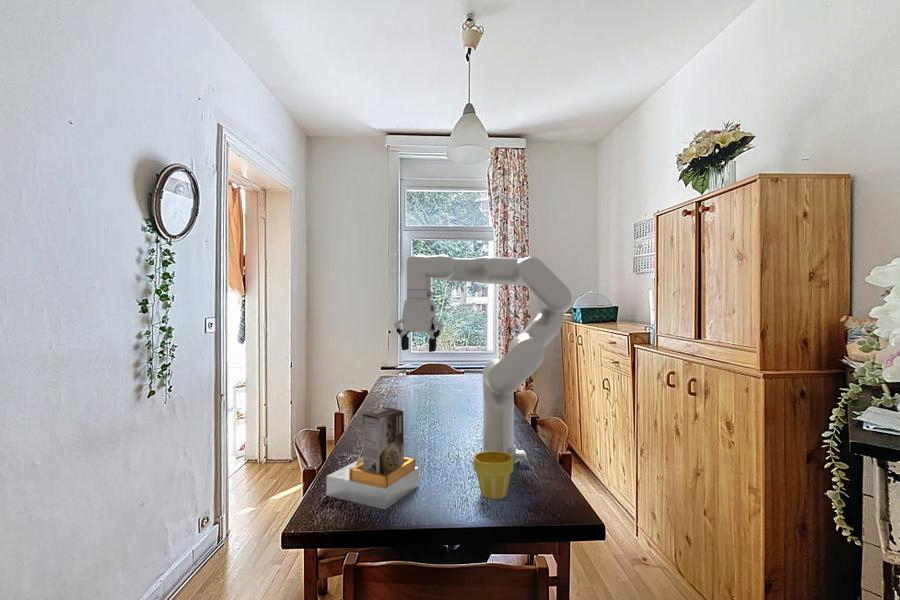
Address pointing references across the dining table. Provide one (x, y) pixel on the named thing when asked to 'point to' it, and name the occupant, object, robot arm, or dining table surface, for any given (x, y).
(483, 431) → the robot arm
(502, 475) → the plant pot
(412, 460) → the white and orange tray
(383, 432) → the coffee box
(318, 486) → the dining table surface
